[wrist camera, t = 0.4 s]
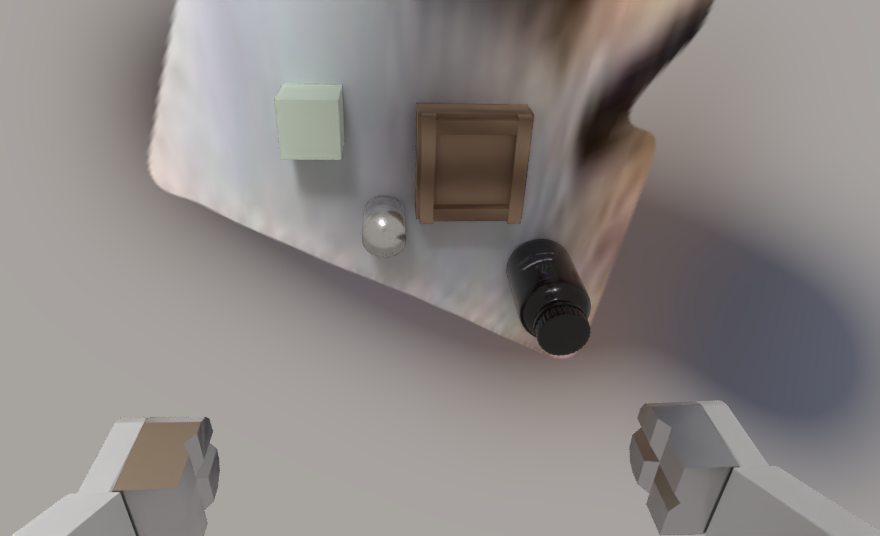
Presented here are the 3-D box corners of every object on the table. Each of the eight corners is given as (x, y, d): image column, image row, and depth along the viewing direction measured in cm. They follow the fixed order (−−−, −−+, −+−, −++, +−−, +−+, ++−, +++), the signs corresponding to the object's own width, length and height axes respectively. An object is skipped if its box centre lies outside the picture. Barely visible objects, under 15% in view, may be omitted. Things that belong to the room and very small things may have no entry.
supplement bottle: (530, 225, 60) (559, 291, 50) (581, 254, 62) (619, 322, 52) (492, 275, 63) (512, 347, 53) (542, 301, 65) (571, 374, 55)
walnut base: (416, 103, 53) (418, 116, 49) (527, 104, 54) (536, 118, 50) (414, 205, 58) (416, 223, 55) (515, 205, 59) (523, 223, 55)
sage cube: (283, 83, 51) (274, 99, 47) (342, 84, 51) (338, 100, 47) (289, 139, 54) (280, 159, 49) (344, 139, 54) (341, 159, 50)
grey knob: (363, 195, 57) (361, 218, 53) (404, 195, 57) (406, 218, 53) (364, 232, 59) (362, 257, 55) (404, 232, 59) (405, 257, 55)
